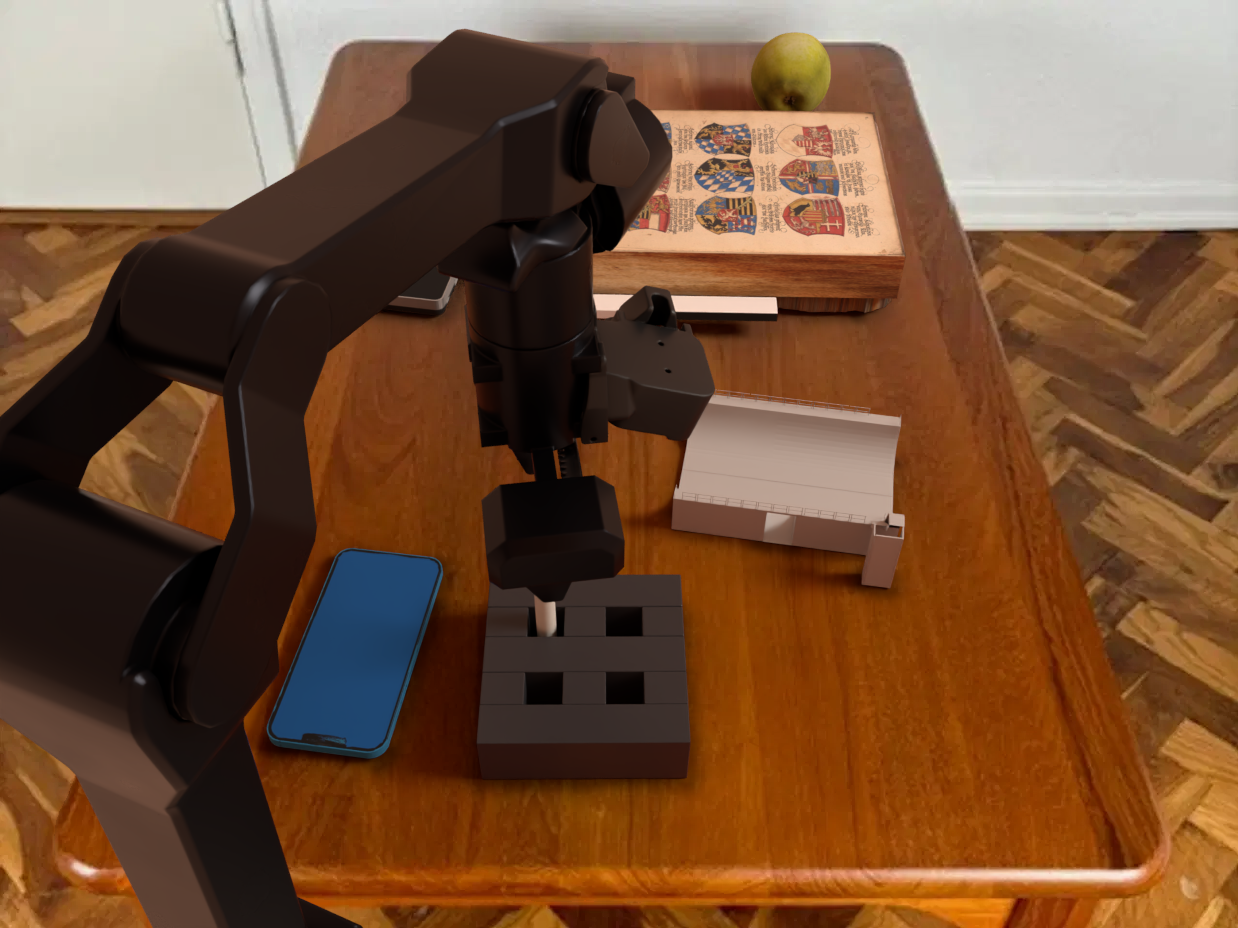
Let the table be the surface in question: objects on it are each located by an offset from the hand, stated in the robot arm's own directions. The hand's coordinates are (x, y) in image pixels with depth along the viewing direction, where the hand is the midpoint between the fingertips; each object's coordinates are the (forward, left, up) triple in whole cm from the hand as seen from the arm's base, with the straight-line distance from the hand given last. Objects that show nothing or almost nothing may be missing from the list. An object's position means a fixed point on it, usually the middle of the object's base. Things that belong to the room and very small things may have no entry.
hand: (543, 532), depth 65 cm
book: (+45, +6, -13) cm, 47 cm away
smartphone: (-4, +11, -13) cm, 18 cm away
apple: (+69, +8, -13) cm, 71 cm away
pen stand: (-1, -3, -13) cm, 13 cm away
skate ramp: (+19, -9, -13) cm, 25 cm away
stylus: (0, 0, -13) cm, 13 cm away
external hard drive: (+28, +29, -13) cm, 43 cm away
